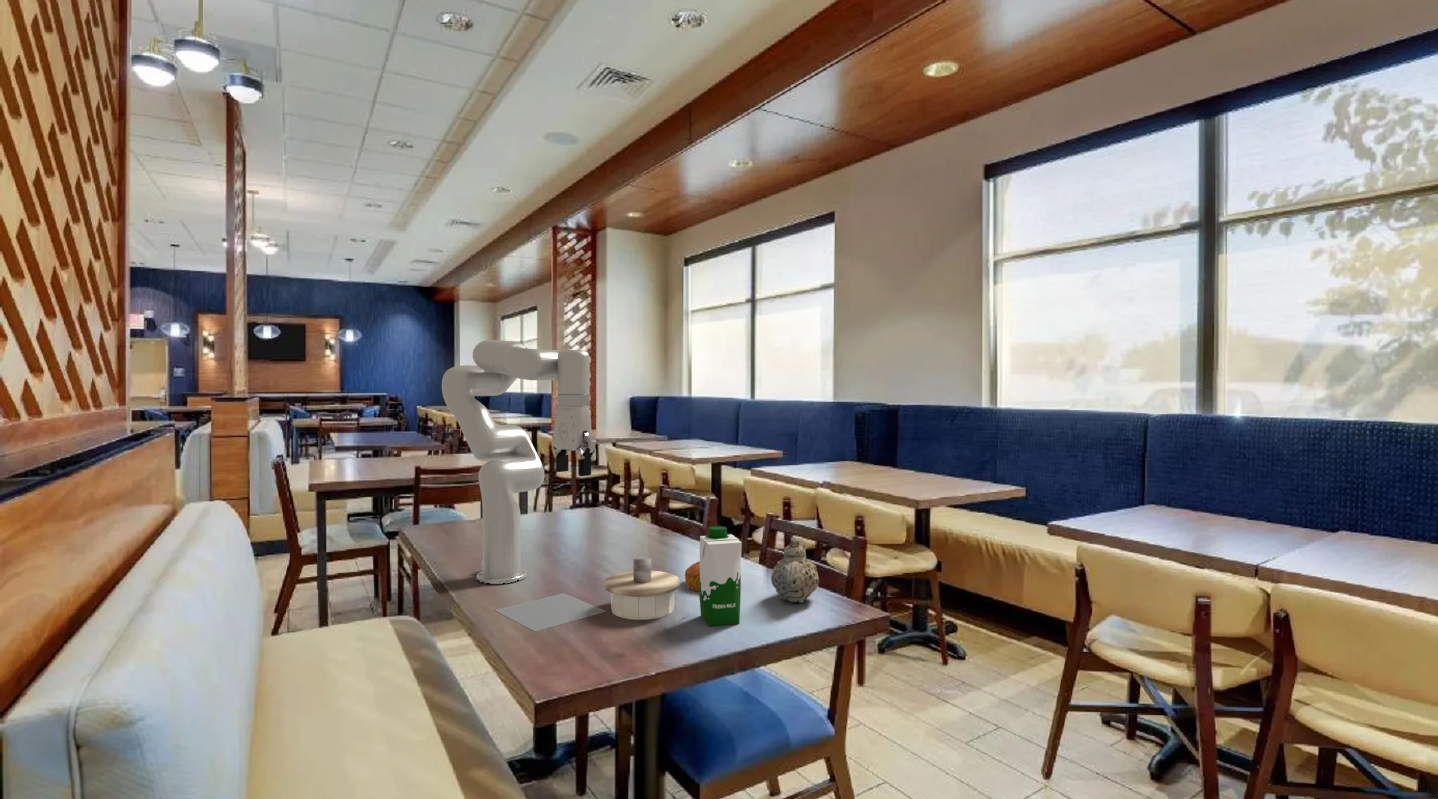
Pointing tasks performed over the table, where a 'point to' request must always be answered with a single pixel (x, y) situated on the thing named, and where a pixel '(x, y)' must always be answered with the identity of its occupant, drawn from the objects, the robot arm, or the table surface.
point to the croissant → (693, 576)
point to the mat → (549, 611)
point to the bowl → (642, 606)
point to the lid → (642, 581)
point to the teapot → (795, 573)
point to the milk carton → (720, 577)
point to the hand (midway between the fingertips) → (573, 473)
